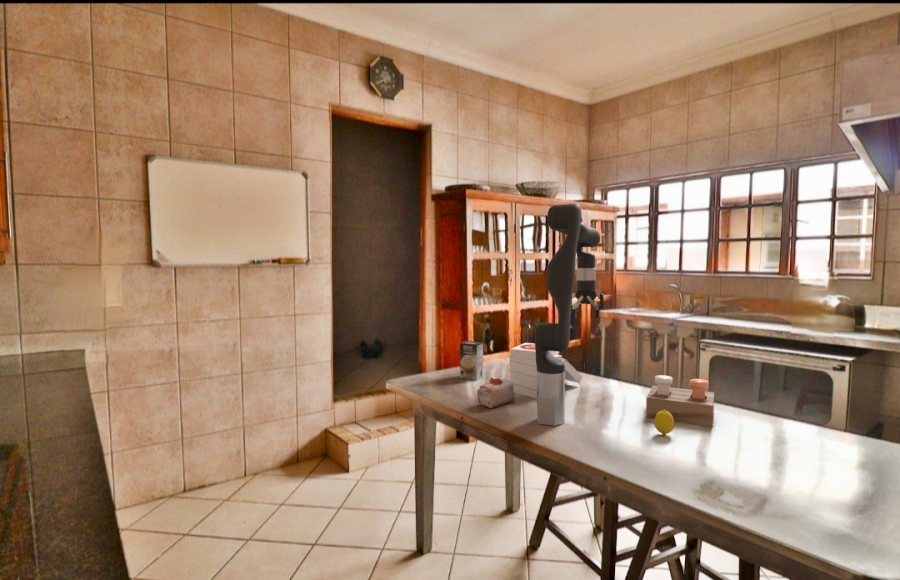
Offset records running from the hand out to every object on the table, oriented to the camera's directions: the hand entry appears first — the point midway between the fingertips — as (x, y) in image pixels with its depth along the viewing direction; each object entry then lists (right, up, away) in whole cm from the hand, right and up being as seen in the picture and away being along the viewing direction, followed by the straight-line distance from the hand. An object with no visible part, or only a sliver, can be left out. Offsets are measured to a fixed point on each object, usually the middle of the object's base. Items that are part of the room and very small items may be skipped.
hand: (585, 318), depth 204 cm
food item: (-38, -31, -16) cm, 52 cm away
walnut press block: (+24, -31, -32) cm, 51 cm away
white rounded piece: (+19, -27, -30) cm, 44 cm away
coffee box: (-46, -28, +22) cm, 58 cm away
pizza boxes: (-16, -29, +3) cm, 34 cm away
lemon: (+11, -33, -50) cm, 61 cm away
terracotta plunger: (+29, -27, -35) cm, 53 cm away
